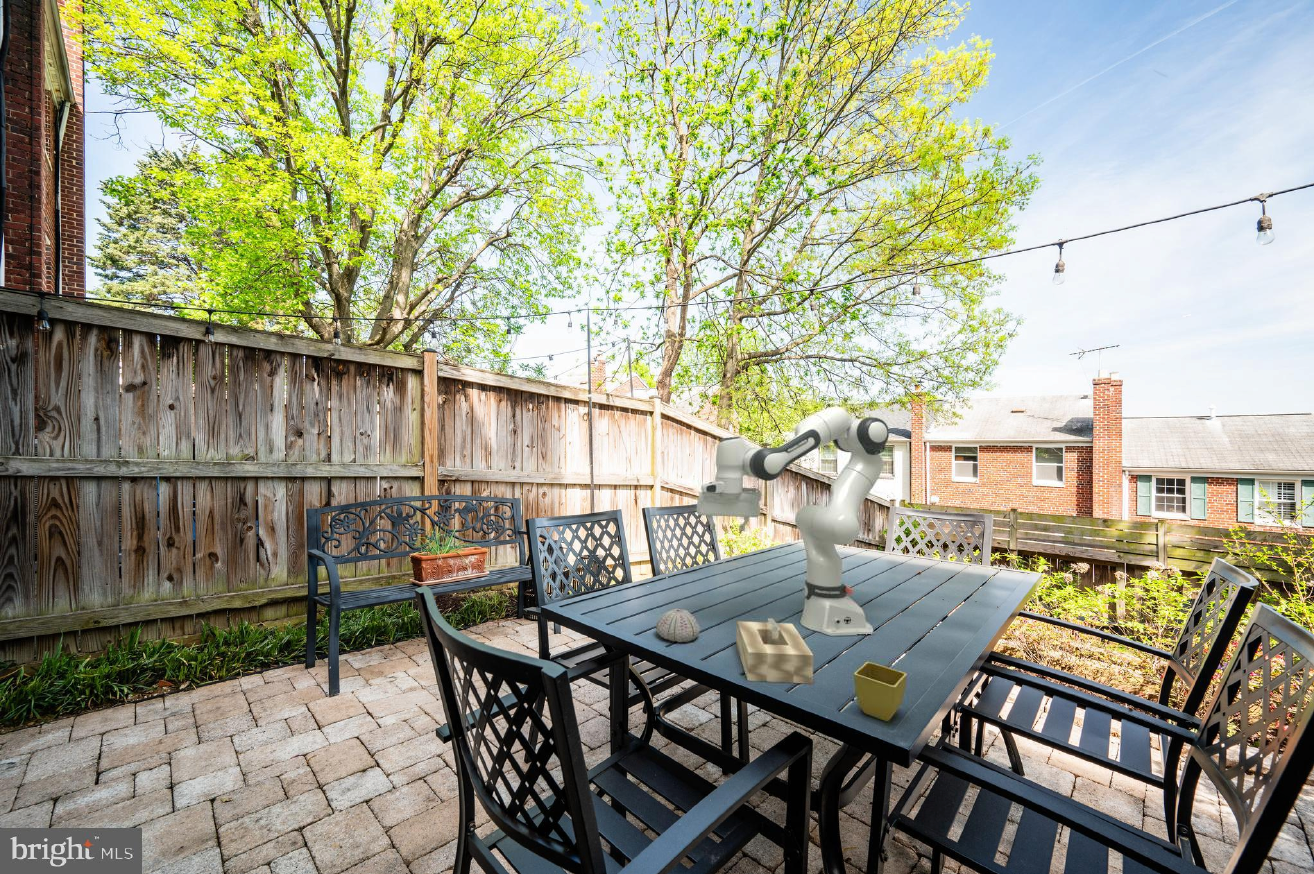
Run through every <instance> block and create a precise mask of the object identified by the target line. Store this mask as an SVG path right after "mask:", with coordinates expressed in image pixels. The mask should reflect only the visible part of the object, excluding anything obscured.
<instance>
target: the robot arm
mask: <svg viewBox="0 0 1314 874" xmlns="http://www.w3.org/2000/svg"><path fill="white" fill-rule="evenodd" d="M889 436H890V429H889V427H888V424H887V423H886V422H885V421H884V420H883V419H881V418H878V417H875V416H874V417H873V416H869V417H865V418H856V419H852V418H851V416H850V414H849V412H848V411H847V410H846V409H844V408H843V407H841V406H836V405H835V406H831V407H828V408H823V409H822V410H819V411H817V412H814V413H812V414H809V415H808V416H807V417H805V418H803V419H802V420H800V421H799V422H798V423H797V424H796V425H795V428H794V437H793V438H792V439H789V440H787V441H786V442H784V443H783V444H781V445H779V446H777V447H765V448H764V447H763V448H762V447H756V446H754V445H752V444H750V443H748V442H747V441H746V440H744V439H743V438H742V437H741V436H730V437H724V438H722V439H720V440H719V441H718V444H717V447H716V456H715V466H716V472H715V480H714V481H710V482H707V483H704V484H701V488H700V489H701V492H700V493H699V495H698V497H697V503H696V513H697V514H698V516H706V518H707V520H708V523H709V524H710V525H709V530H710V531H715V530H716V524H715V523H713V522H712V519H713V516H714V517H735V518H737V517H739V518H740V517H741V518H742V517H743V520H744V521H743V523H742V524H739V531H740V532H745V531H746V525H747V524H748V523H749V522H750V521H749V520H750V519H749V518H759V517H760V516H761V504H760V502H761V500H762V492H761V491H760V489H757V488H756V487H752V488H751V487H743V486H744V476H747V477H750V478H754V479H759V480H761V481H765V482H770V481H771V482H772V481H774V480H776V479H778V478H779V477H781V475H782V474H783V472H784V471H785V470H786V469H787V468H788V467H789V466H790V465H791V464H793V463H794V462H796V461H798V460H799V459H801V458H803V457H804V456H806V455H807V454H809V453H811V452H812V451H815V450H817V449H820V448H821V447H824V446H826V445H827V444H830V443H833V445H834V446H835V447H836V448H837V449H838V450H839V451H841V452H845V453H850V457H849V460H848V462H847V464H846V465H845V466H844V467H843V468H842V470H841V471H840V473H839V474H838V476H837V477H836V478H835V479H834V481H833V482H832V484H831V486H830V493H831V499H830V502H829V504H828V505H827V506H824V505H818V504H808V505H803V506H801V507H800V508H799V509H798V510H797V511H796V514H795V517H794V521H795V522H794V523H795V526H796V528H797V529H798V531H799V532H800V534H801V537H802V541H803V545H804V548H805V556H806V579H805V581H804V591H803V592H804V597H805V599H804V606H803V611H802V615H801V618H800V620H799V622H800V624H801V625H802V626H803V627H804V628H806V629H809V630H811V631H815V632H819V633H822V634H825V635H827V636H833V637H838V636H839V637H840V636H858V635H857V634H866V636H867V634H871V635H873V634H874V628H873V626H872V625H871V623H869V622H868V621H867V620H866V615H865V611H864V609H863V608H862V607H861V606H859V604H858V603H856V602H855V601H854V599H852V598H851V597H849V595H852V594H853V591H854V590H853V589H852V588H851V587H849V586H847V585H845V584H844V583H843V582H842V581H843V580H842V579H843V560H842V557H841V555H839V553H838V550H837V548H836V546H835V545H849V544H852V543H854V542H855V541H856V540H857V538H858V537H859V534H860V529H861V528H860V522H859V520H858V517H859V512H860V508H861V507H862V504H863V503H864V501H865V499H866V498H867V496H868V495H869V494H870V491H871V490H872V489H873V488H874V486H875V485H876V484H877V483H876V482H877V481H878V480H879V478H880V476H881V473H882V471H883V468H884V465H885V462H884V459H883V457H882V456H881V453H882V452H884V450H885V448H886V444H887V443H888V440H889V438H890V437H889Z"/></svg>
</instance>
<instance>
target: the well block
mask: <svg viewBox="0 0 1314 874" xmlns="http://www.w3.org/2000/svg"><path fill="white" fill-rule="evenodd" d="M775 623H776V624H777V626H778V645H767V622H766V621H765V622H763V621H762V622H761V621H740V620H738V621H736V638H735V639H736V642H735V643H736V645H735V646H736V649H737V652H738V654H739V657H740V661H741V663H742V666H743V667H742V668H743V671H744V673H745V676H746V679H747V681H749V682H750V681H751V682H768V683H769V682H770V683H789V684H791V683H792V684H812V685H813V683H814V681H813V680H814V654H813V652H812V651H811V650H810V648H809V646H808V645H807V644H806V643H807V642H805V641H804V639H803V638H802V636H801V634H800V633H799V631H798V630H797V629H796V627H795V626H794V624H793V623H787V622H786V623H783V622H781V623H780V622H775Z"/></svg>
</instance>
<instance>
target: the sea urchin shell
mask: <svg viewBox="0 0 1314 874" xmlns="http://www.w3.org/2000/svg"><path fill="white" fill-rule="evenodd" d="M655 630H656V632H657V633H658V635H659V636H660V637H661V638H663V639H664V640H669V641H671V642H677V643H688V642H691V641H693V640H695V639H697V638H698V637H699V635H700V631H701V628H700V625H699V622H698V621H697V619H696V618H695V616H694V615H693V614H692V613H690V611H688V610H686V609H680V608H673V609H671V610H669V611H666V612H664V613H663V614H662V615H661V616H660V617H659V619H658V620H657V622H656V623H655Z"/></svg>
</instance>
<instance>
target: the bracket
mask: <svg viewBox="0 0 1314 874" xmlns="http://www.w3.org/2000/svg"><path fill="white" fill-rule="evenodd" d="M766 620H767V621H766V623H767V645H778V626H777V624H776V623H777V622H776V621H775V619H774V618H772V617H770V618H769V617H767V619H766Z"/></svg>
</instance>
